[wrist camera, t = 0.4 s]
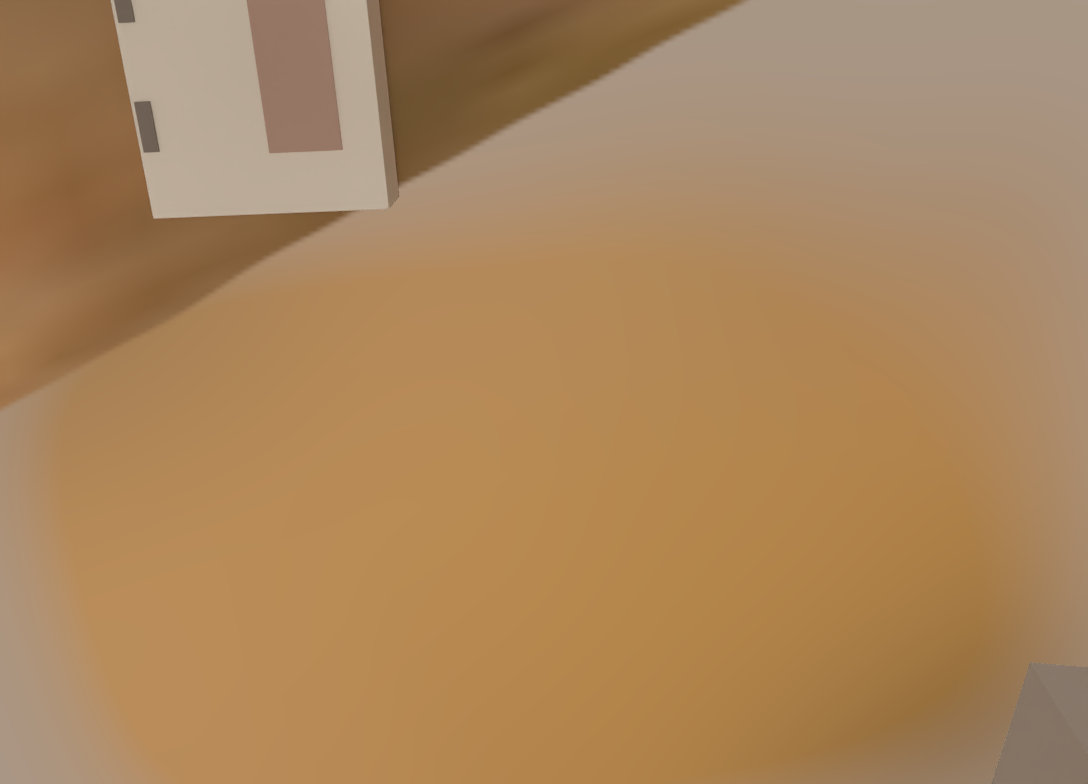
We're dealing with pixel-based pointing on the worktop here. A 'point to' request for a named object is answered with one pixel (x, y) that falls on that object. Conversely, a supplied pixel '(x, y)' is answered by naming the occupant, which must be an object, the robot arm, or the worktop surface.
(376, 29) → the slab
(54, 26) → the worktop surface
